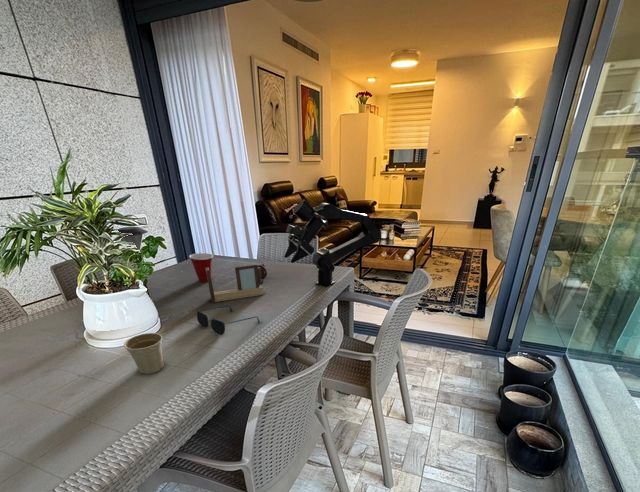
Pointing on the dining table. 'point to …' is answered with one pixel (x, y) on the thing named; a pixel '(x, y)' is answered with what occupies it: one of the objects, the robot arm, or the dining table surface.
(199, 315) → the sunglasses
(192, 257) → the plastic cup
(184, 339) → the dining table surface
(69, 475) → the dining table surface
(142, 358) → the flower pot
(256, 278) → the brown picture frame
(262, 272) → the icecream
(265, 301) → the dining table surface
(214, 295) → the wooden display stand
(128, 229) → the solar garden light
